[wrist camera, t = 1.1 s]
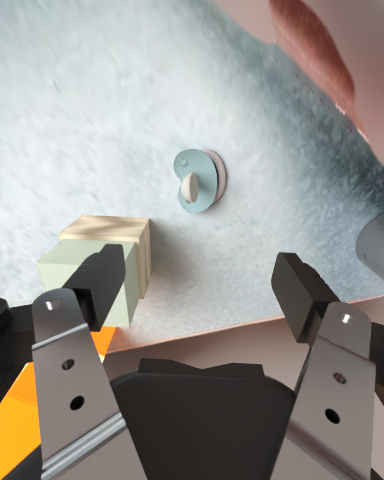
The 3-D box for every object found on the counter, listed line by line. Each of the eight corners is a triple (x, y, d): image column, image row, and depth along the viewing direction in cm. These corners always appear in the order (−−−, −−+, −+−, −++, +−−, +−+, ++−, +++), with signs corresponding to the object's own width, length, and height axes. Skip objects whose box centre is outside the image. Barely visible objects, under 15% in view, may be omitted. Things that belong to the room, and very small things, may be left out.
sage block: (135, 241, 25) (121, 266, 21) (139, 296, 29) (129, 327, 24) (64, 238, 25) (35, 262, 20) (78, 293, 29) (56, 324, 24)
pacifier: (222, 142, 26) (172, 150, 26) (232, 146, 20) (167, 156, 20) (226, 202, 29) (181, 208, 29) (236, 220, 23) (180, 228, 24)
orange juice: (71, 301, 37) (-42, 463, 19) (117, 325, 40) (53, 488, 22) (52, 326, 40) (-62, 487, 22) (96, 347, 42) (24, 507, 25)
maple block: (149, 217, 30) (139, 237, 25) (151, 271, 34) (143, 299, 29) (82, 214, 30) (58, 233, 25) (93, 269, 34) (74, 295, 29)
